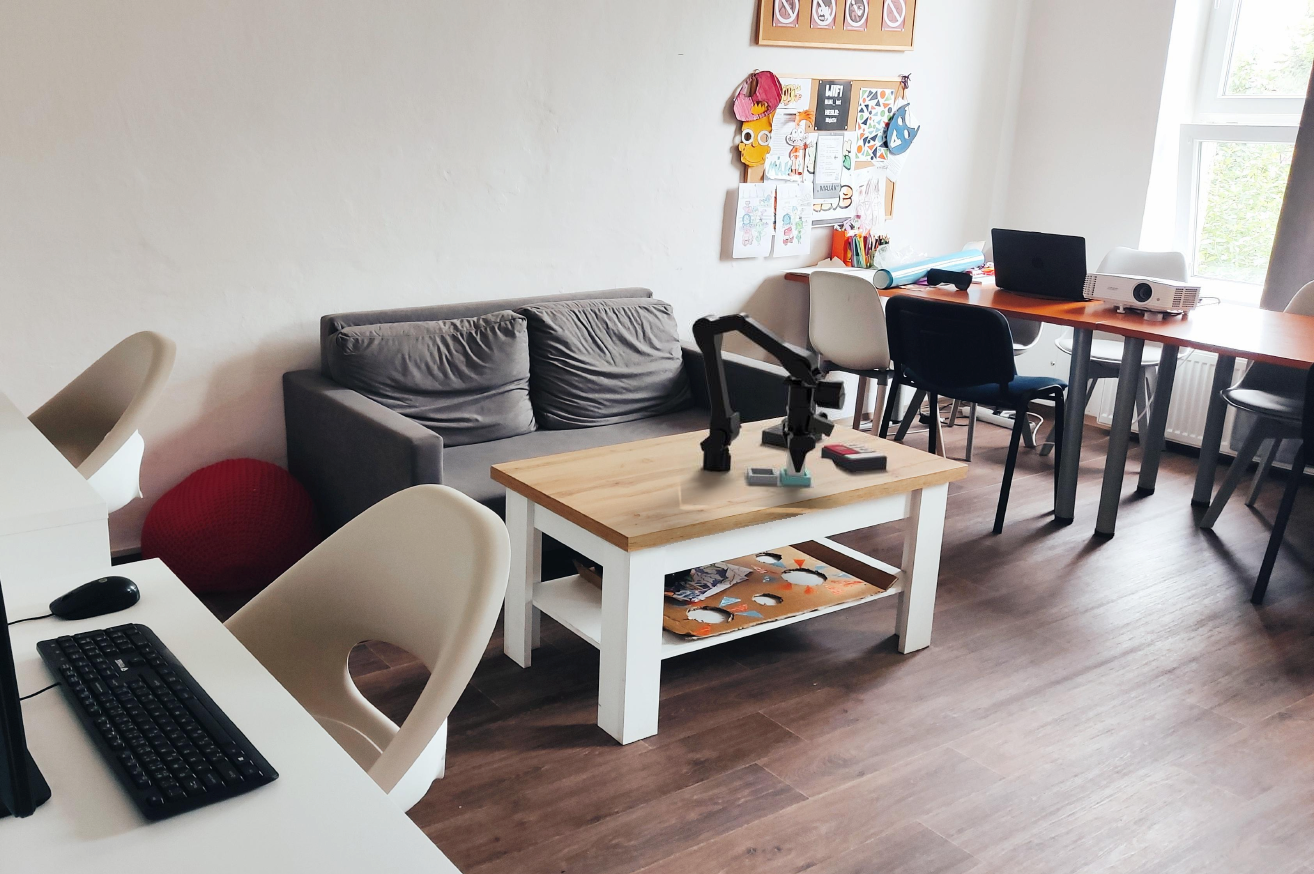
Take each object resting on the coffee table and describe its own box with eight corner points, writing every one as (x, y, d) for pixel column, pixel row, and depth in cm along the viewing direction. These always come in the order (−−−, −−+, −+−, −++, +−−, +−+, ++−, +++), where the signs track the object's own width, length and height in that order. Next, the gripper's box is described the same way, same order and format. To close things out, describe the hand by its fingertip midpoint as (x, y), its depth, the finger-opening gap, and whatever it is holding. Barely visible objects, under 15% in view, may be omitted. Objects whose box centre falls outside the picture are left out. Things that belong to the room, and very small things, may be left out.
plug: (787, 482, 264) (789, 455, 262) (785, 477, 268) (787, 450, 266) (803, 483, 264) (805, 455, 262) (801, 478, 268) (803, 450, 266)
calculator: (856, 441, 294) (888, 453, 281) (855, 456, 295) (887, 470, 282) (821, 444, 290) (851, 457, 276) (820, 460, 291) (850, 473, 277)
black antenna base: (800, 452, 295) (804, 390, 290) (755, 442, 303) (759, 382, 298) (833, 437, 311) (838, 379, 306) (790, 428, 318) (794, 371, 314)
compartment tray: (746, 489, 261) (747, 477, 261) (743, 476, 271) (744, 465, 270) (813, 491, 262) (814, 479, 261) (808, 478, 271) (808, 467, 270)
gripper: (839, 415, 252) (834, 479, 256) (827, 396, 270) (822, 457, 274) (791, 413, 252) (787, 478, 256) (782, 395, 270) (778, 455, 274)
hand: (795, 466), depth 265 cm, fingers open, 9 cm apart
